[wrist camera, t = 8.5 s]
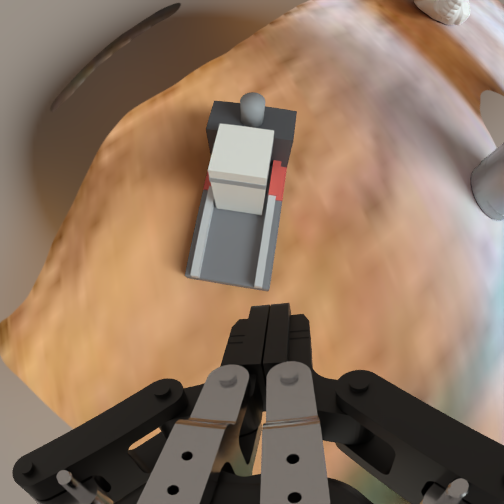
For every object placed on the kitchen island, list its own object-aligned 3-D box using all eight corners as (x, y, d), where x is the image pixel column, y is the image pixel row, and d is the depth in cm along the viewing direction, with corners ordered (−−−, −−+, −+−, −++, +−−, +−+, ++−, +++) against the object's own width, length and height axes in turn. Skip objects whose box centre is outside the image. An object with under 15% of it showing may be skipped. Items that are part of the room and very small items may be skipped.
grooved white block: (262, 215, 35) (267, 179, 26) (216, 208, 35) (207, 170, 26) (268, 174, 36) (275, 130, 27) (224, 168, 36) (219, 122, 28)
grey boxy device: (268, 291, 35) (277, 275, 25) (187, 277, 35) (164, 257, 25) (288, 145, 39) (300, 92, 29) (219, 135, 39) (212, 81, 29)
